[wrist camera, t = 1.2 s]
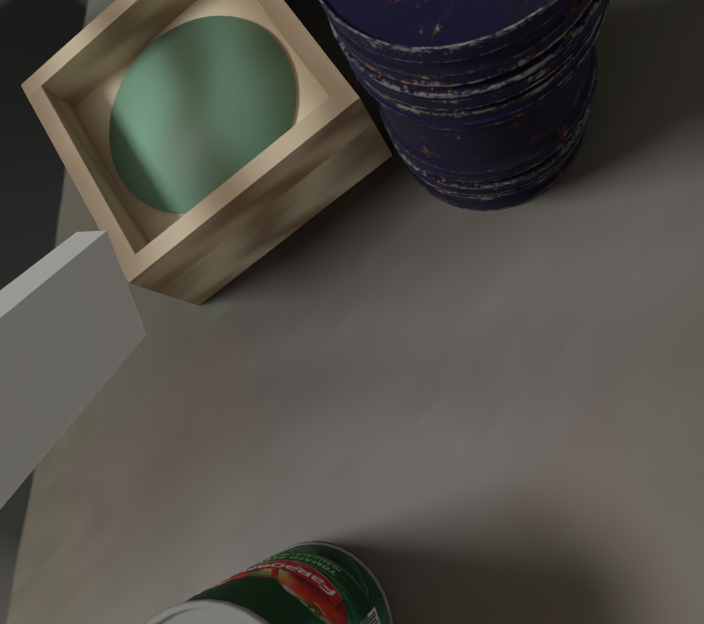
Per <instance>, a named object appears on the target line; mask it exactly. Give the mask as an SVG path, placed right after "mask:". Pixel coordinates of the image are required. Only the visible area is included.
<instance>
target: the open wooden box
mask: <svg viewBox="0 0 704 624" xmlns="http://www.w3.org/2000/svg"><path fill="white" fill-rule="evenodd" d="M21 86H22V88H23V90H24V91H25V93H26V95H27V97H28V99H29V101H30V103H31V104H32V106H33V108H34V110H35V112H36V114H37V115H38V117H39V119H40V121H41V123H42V124H43V126H44V128H45V130H46V132H47V134H48V135H49V137H50V139H51V141H52V143H53V145H54V147H55V148H56V150H57V152H58V154H59V156H60V157H61V159H62V161H63V163H64V165H65V167H66V169H67V170H68V172H69V174H70V176H71V178H72V180H73V181H74V183H75V185H76V187H77V189H78V191H79V192H80V194H81V196H82V198H83V200H84V202H85V203H86V205H87V207H88V209H89V211H90V213H91V214H92V216H93V218H94V220H95V222H96V224H97V225H98V227H99V229H100V231H107V233H108V235H109V238H110V240H111V243H112V246H113V248H114V251H115V254H116V256H117V259H118V261H119V264H120V267H121V269H122V271H123V273H124V275H125V277H126V279H127V280H128V282H129V283H131V284H134V285H137V286H140V287H143V288H146V289H149V290H152V291H156V292H159V293H162V294H165V295H168V296H171V297H174V298H177V299H180V300H183V301H186V302H190V303H193V304H196V305H201V304H202V303H203V302H205V301H206V300H207V299H208V298H210V297H211V296H212V295H214V294H215V293H216V292H217V291H219V290H220V289H221V288H223V287H224V286H225V285H226V284H228V283H229V282H230V281H232V280H233V279H234V278H235V277H237V276H238V275H239V274H241V273H242V272H243V271H244V270H246V269H247V268H248V267H250V266H251V265H252V264H253V263H255V262H256V261H257V260H259V259H260V258H261V257H262V256H264V255H265V254H266V253H268V252H269V251H270V250H271V249H273V248H274V247H275V246H277V245H278V244H279V243H280V242H282V241H283V240H284V239H286V238H287V237H288V236H289V235H291V234H292V233H293V232H295V231H296V230H297V229H298V228H300V227H301V226H302V225H304V224H305V223H306V222H307V221H309V220H310V219H311V218H313V217H314V216H315V215H316V214H318V213H319V212H320V211H322V210H323V209H324V208H325V207H327V206H328V205H329V204H331V203H332V202H333V201H334V200H336V199H337V198H338V197H340V196H341V195H342V194H343V193H345V192H346V191H347V190H349V189H350V188H351V187H353V186H354V185H355V184H356V183H358V182H359V181H360V180H362V179H363V178H364V177H365V176H367V175H368V174H369V173H371V172H372V171H373V170H374V169H376V168H377V167H378V166H380V165H381V164H382V163H383V162H385V161H386V160H387V159H389V158H390V157H391V156H392V153H391V152H390V150H389V148H388V146H387V145H386V143H385V141H384V139H383V138H382V136H381V134H380V132H379V131H378V129H377V127H376V125H375V124H374V122H373V120H372V118H371V117H370V115H369V113H368V111H367V110H366V108H365V106H364V104H363V103H362V101H361V99H360V98H359V96H358V95H357V94H356V92H355V91H354V90H353V89H352V87H351V86H350V85H349V83H348V82H347V81H346V80H345V78H344V77H343V76H342V74H341V73H340V72H339V71H338V69H337V68H336V67H335V65H334V64H333V63H332V62H331V60H330V59H329V58H328V56H327V55H326V54H325V53H324V51H323V50H322V49H321V47H320V46H319V45H318V44H317V42H316V41H315V40H314V38H313V37H312V36H311V35H310V33H309V32H308V31H307V29H306V28H305V27H304V26H303V24H302V23H301V22H300V20H299V19H298V18H297V17H296V15H295V14H294V13H293V11H292V10H291V9H290V8H289V6H288V5H287V4H286V2H285V1H284V0H115V1H114V2H113V3H112V4H111V5H110V6H109V7H108V8H107V9H105V10H104V11H103V12H102V13H101V14H100V15H99V16H98V17H96V18H95V19H94V20H93V21H92V22H91V23H90V24H89V25H88V26H86V27H85V28H84V29H83V30H82V31H81V32H80V33H79V34H77V35H76V36H75V37H74V38H73V39H72V40H71V41H70V42H69V43H67V44H66V45H65V46H64V47H63V48H62V49H61V50H60V51H58V52H57V53H56V54H55V55H54V56H53V57H52V58H51V59H50V60H48V61H47V62H46V63H45V64H44V65H43V66H42V67H41V68H39V70H37V71H36V72H35V73H34V74H33V75H32V76H31V77H29V78H28V79H27V80H26V81H25V82H24V83H23V84H22V85H21Z"/></svg>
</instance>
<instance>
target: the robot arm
mask: <svg viewBox="0 0 704 624" xmlns="http://www.w3.org/2000/svg"><path fill="white" fill-rule="evenodd" d="M145 335H146V332H145V329H144V327H143V324H142V321H141V319H140V316H139V313H138V311H137V308H136V306H135V303H134V300H133V298H132V295H131V293H130V290H129V287H128V285H127V282H126V280H125V277H124V274H123V272H122V269H121V267H120V264H119V261H118V259H117V256H116V254H115V251H114V248H113V246H112V243H111V240H110V238H109V235H108V233H107V231H90V232H76V233H75V234H74V235H72V236H71V237H70V238H68V239H67V240H66V241H65V242H63V243H62V244H61V245H59V246H58V247H57V248H55V249H54V250H53V251H52V252H50V253H49V254H48V255H46V256H45V257H44V258H42V259H41V260H40V261H38V262H37V263H36V264H35V265H33V266H32V267H31V268H29V269H28V270H27V271H25V272H24V273H23V274H22V275H20V276H19V277H18V278H16V279H15V280H14V281H12V282H11V283H10V284H8V285H7V286H6V287H5V288H3V289H2V290H1V291H0V509H1V508H2V507H3V505H4V504H5V503H6V502H7V501H8V499H9V498H10V497H11V496H12V495H13V493H14V492H15V491H16V490H17V488H18V487H19V486H20V485H21V484H22V483H23V481H24V480H25V479H26V478H27V477H28V475H29V474H30V473H31V472H32V471H33V469H34V468H35V467H36V466H37V465H38V463H39V462H40V461H41V460H42V459H43V457H44V456H45V455H46V454H47V453H48V451H49V450H50V449H51V448H52V447H53V445H54V444H55V443H56V442H57V441H58V439H59V438H60V437H61V436H62V435H63V433H64V432H65V431H66V430H67V429H68V427H69V426H70V425H71V424H72V423H73V421H74V420H75V419H76V418H77V417H78V416H79V414H80V413H81V412H82V411H83V410H84V408H85V407H86V406H87V405H88V404H89V402H90V401H91V400H92V399H93V398H94V396H95V395H96V394H97V393H98V392H99V390H100V389H101V388H102V387H103V386H104V384H105V383H106V382H107V381H108V380H109V378H110V377H111V376H112V375H113V374H114V372H115V371H116V370H117V369H118V368H119V366H120V365H121V364H122V363H123V362H124V360H125V359H126V358H127V357H128V356H129V354H130V353H131V352H132V351H133V350H134V348H135V347H136V346H137V345H138V344H139V342H140V341H141V340H142V339H143V338H144V336H145Z"/></svg>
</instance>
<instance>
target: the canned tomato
mask: <svg viewBox="0 0 704 624" xmlns="http://www.w3.org/2000/svg"><path fill="white" fill-rule="evenodd" d="M147 624H393V620H392V614H391V608H390V605H389V603H388V600H387V597H386V594H385V592H384V590H383V588H382V586H381V584H380V583H379V581H378V579H377V577H376V576H375V575H374V574H373V573H372V571H371V570H370V569H369V568H368V566H367V565H366V564H364V563H363V562H362V561H361V560H360V559H359V558H357V557H356V556H355V555H354V554H352V553H350V552H348V551H346V550H345V549H343V548H341V547H338V546H335V545H331V544H328V543H320V542H308V543H300V544H296V545H293V546H291V547H288V548H285V549H284V550H282V551H280V552H279V553H277V554H276V555H273V556H271V557H270V558H268V559H265V560H264V561H262V562H260V563H257V564H256V565H254V566H252V567H250V568H248V569H247V570H244V571H242V572H240V573H239V574H237V575H234V576H232V577H231V578H229V579H227V580H224V581H223V582H221V583H220V584H217V585H215V586H213V587H212V588H210V589H207V590H205V591H203V592H202V593H200V594H198V595H195V596H194V597H192V598H190V599H189V600H187V601H185V602H184V603H181V604H178V605H176V606H173V607H170V608H168V609H167V610H165V611H164V612H162V613H160V614H159V615H157V616H156V617H154V618H153V619H151V620H150V621H149V622H148V623H147Z"/></svg>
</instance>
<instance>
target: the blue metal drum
mask: <svg viewBox="0 0 704 624" xmlns="http://www.w3.org/2000/svg"><path fill="white" fill-rule="evenodd" d="M319 1H320V3H321V5H322V7H323V9H324V10H325V13H326V15H327V16H328V19H329V22H330V25H331V28H332V31H333V34H334V36H335V38H336V39H337V41H338V43H339V45H340V47H341V49H342V50H343V52H344V54H345V56H346V58H347V59H348V61H349V64H350V66H351V68H352V70H353V71H354V73H355V75H356V77H357V79H358V80H359V82H360V83H361V84H362V85H363V86H364V88H365V89H366V90H367V91H368V92H369V94H370V95H372V96H373V97H374V98H375V99H376V100H377V105H378V109H379V113H380V115H381V118H382V121H383V124H384V126H385V128H386V130H387V132H388V134H389V137H390V139H391V141H392V143H393V144H394V146H395V148H396V150H397V152H398V153H399V155H400V157H401V159H402V160H403V161H404V162H405V163H406V165H407V166H408V167H409V169H410V171H411V173H412V175H413V176H414V177H415V179H416V180H417V181H418V182H419V184H420V185H421V186H422V187H423V188H424V189H425V190H427V191H428V192H429V193H430V194H431V195H433V196H434V197H436V198H438V199H439V200H441V201H443V202H445V203H447V204H450V205H452V206H455V207H459V208H463V209H467V210H476V211H491V210H501V209H505V208H510V207H514V206H517V205H519V204H522V203H524V202H527V201H529V200H531V199H533V198H535V197H536V196H538V195H540V194H542V193H543V192H544V191H546V190H547V189H548V188H550V187H551V186H552V185H554V184H555V183H556V182H557V181H558V180H559V179H560V178H561V177H562V176H563V175H564V174H565V172H566V171H567V170H568V168H569V167H570V165H571V164H572V163H573V161H574V159H575V157H576V155H577V153H578V151H579V149H580V147H581V144H582V141H583V138H584V135H585V129H586V124H587V121H588V118H589V115H590V112H591V108H592V101H593V95H594V92H595V89H596V82H597V74H598V66H597V54H596V45H595V41H596V39H597V37H598V34H599V32H600V30H601V28H602V25H603V22H604V19H605V16H606V13H607V9H608V5H609V0H319Z"/></svg>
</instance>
